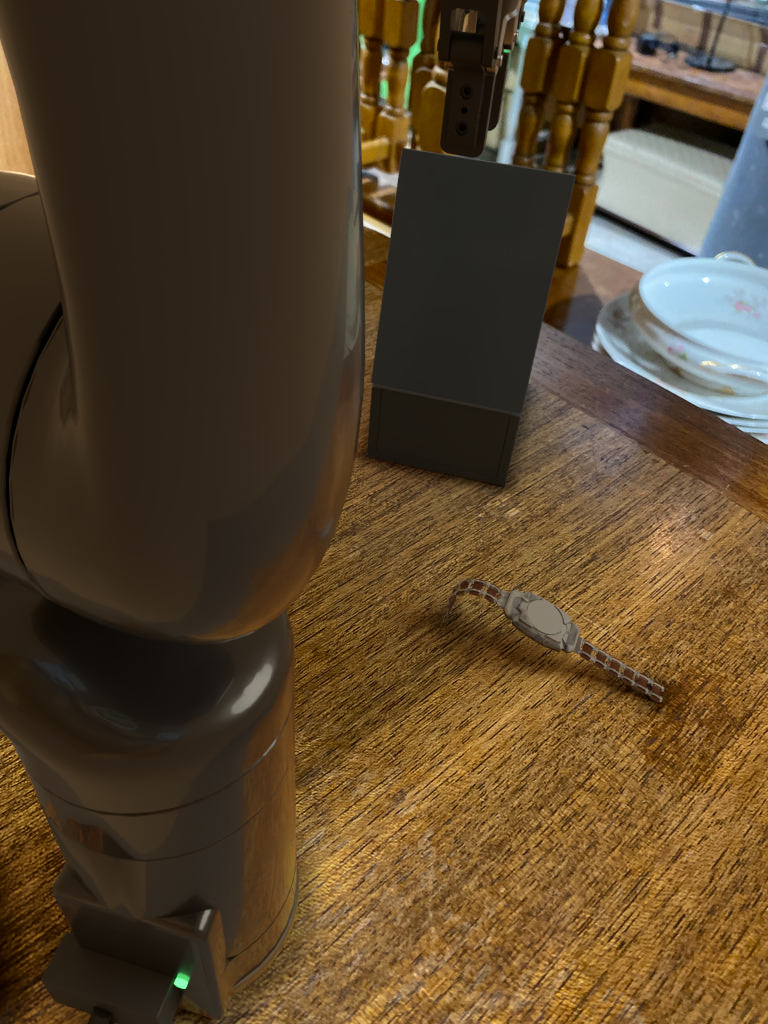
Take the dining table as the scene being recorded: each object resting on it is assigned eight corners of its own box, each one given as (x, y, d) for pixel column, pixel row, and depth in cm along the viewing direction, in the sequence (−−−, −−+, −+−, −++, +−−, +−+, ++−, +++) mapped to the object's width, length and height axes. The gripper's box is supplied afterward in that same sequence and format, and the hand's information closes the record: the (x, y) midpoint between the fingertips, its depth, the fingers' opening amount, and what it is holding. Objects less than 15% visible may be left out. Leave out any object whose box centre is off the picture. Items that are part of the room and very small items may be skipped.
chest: (409, 363, 76) (416, 299, 71) (527, 387, 74) (542, 322, 70) (366, 456, 65) (371, 386, 60) (504, 486, 63) (520, 417, 58)
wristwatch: (445, 595, 53) (475, 552, 50) (629, 705, 53) (673, 670, 49) (426, 632, 51) (457, 590, 47) (619, 748, 50) (666, 714, 47)
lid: (404, 147, 53) (401, 147, 52) (576, 175, 51) (575, 175, 50) (373, 380, 60) (370, 383, 59) (522, 410, 58) (521, 414, 58)
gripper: (470, -316, 35) (428, 97, 47) (393, -382, 25) (364, 171, 36) (637, -305, 34) (553, 115, 46) (630, -368, 24) (523, 197, 35)
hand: (470, 138), depth 41 cm, fingers open, 4 cm apart
